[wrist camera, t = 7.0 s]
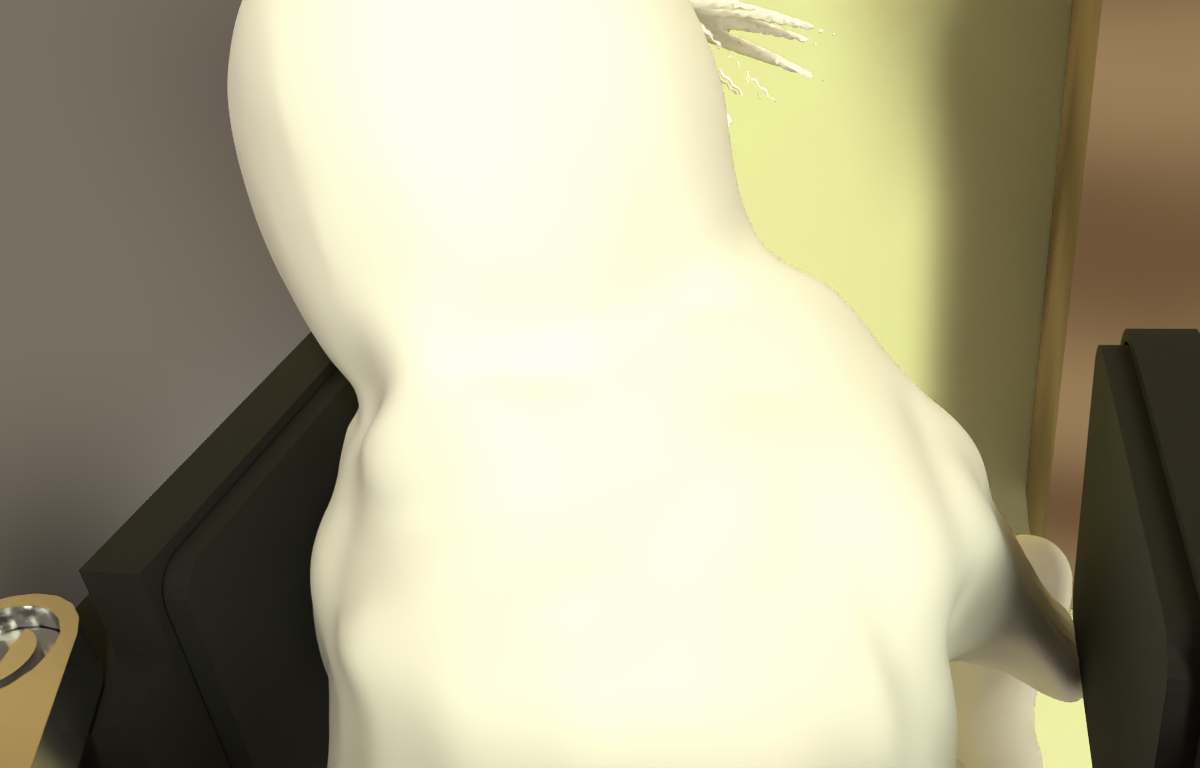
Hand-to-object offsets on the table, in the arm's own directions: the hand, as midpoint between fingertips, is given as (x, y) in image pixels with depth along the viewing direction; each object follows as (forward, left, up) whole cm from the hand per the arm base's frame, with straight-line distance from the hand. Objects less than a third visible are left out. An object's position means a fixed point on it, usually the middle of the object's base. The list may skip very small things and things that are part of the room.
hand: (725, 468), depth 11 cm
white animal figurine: (0, 0, -2) cm, 2 cm away
